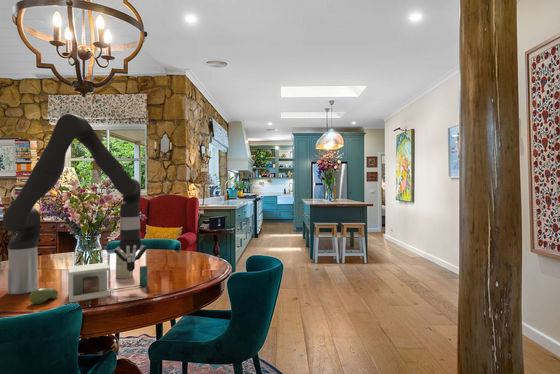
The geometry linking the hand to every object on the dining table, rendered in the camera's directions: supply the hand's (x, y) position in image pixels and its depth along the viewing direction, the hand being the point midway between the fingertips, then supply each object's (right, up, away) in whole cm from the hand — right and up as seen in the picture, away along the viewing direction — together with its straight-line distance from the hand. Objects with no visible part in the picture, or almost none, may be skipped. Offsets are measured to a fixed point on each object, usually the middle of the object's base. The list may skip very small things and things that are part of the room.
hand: (130, 270), depth 138 cm
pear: (-25, -8, -14) cm, 30 cm away
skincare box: (-11, -8, +18) cm, 22 cm away
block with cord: (-4, -7, -3) cm, 9 cm away
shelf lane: (-12, -7, -8) cm, 16 cm away
